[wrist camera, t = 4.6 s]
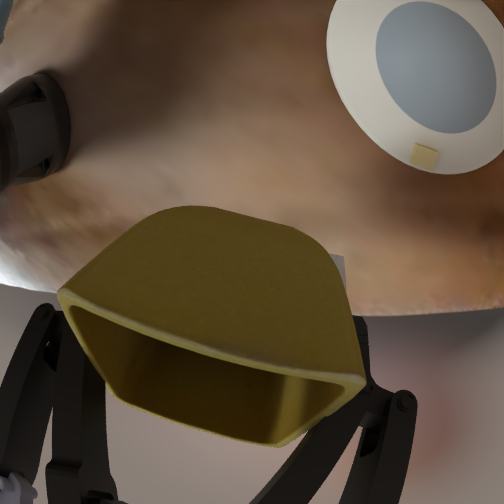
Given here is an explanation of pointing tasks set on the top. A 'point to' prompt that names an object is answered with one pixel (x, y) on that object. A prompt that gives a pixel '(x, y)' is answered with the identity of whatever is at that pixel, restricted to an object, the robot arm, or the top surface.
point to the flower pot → (219, 324)
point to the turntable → (422, 78)
